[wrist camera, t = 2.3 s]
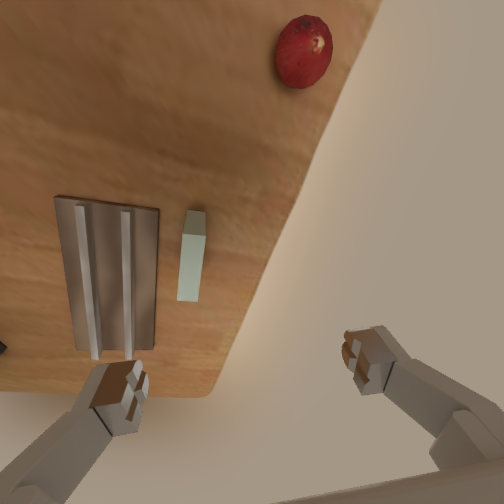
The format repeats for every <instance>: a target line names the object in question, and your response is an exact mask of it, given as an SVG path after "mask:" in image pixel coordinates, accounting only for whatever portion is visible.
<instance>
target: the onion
mask: <svg viewBox="0 0 504 504" xmlns="http://www.w3.org/2000/svg"><path fill="white" fill-rule="evenodd" d="M332 51H333V44H332V35H331V33H330V31H329V29H328V26H327V25H326V24H325V23H324V22H323V21H322V20H321V19H320V18H319V17H315V16H310V15H303V16H301V17H298V18H295V19H293V20H292V21H290V22H289V24H288V25H287V26H286V27H285V28H284V29H283V31H282V32H281V34H280V37H279V40H278V42H277V45H276V54H275V64H276V68H277V72H278V75H279V76H280V78H281V79H282V81H283V82H284V83H285V84H287V85H288V86H290V87H291V88H297V89H303V88H306V87H309V86H311V85H314V84H315V83H316V82H317V81H318V80H319V79H320V78H321V77H322V76H323V75H324V73H325V71H326V69H327V67H328V65H329V63H330V61H331V56H332Z"/></svg>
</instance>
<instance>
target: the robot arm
mask: <svg viewBox="0 0 504 504" xmlns="http://www.w3.org/2000/svg"><path fill="white" fill-rule="evenodd" d="M344 338H345V340H346V341H345V342H344V344H343V345H342V356H343V360H344V362H345V364H346V366H347V368H348V369H349V370H350V371H352V372H353V373H354V377H353V380H354V381H355V383H356V385H357V387H358V389H359V391H360V393H361V395H370V394H377V393H384V395H385V396H386V397H388V398H389V399H390V400H391V401H392V402H394V403H395V404H396V405H397V406H398V407H400V408H401V409H402V410H403V411H404V412H405V413H407V414H408V415H409V416H410V417H412V418H413V419H414V420H415V421H416V422H417V423H418V424H420V425H421V426H422V427H423V428H425V429H426V430H427V431H428V432H429V433H430V434H432V435H433V436H434V437H435V438H436V440H435V441H434V443H433V445H432V446H431V448H430V451H429V454H430V455H431V457H432V459H433V460H434V462H435V464H436V465H437V467H438V468H439V470H440V471H437V472H432V473H427V474H421V475H416V476H411V477H406V478H401V479H396V480H390V481H385V482H380V483H375V484H370V485H365V486H360V487H355V488H349V489H344V490H339V491H334V492H329V493H324V494H319V495H313V496H308V497H303V498H298V499H293V500H288V501H282V502H277V503H272V504H504V412H503V411H502V410H501V409H500V408H499V407H498V406H497V405H496V404H495V403H493V402H492V401H490V400H488V399H486V398H485V397H483V396H481V395H479V394H477V393H476V392H474V391H472V390H470V389H469V388H467V387H465V386H463V385H462V384H460V383H458V382H456V381H455V380H453V379H451V378H449V377H447V376H446V375H444V374H442V373H440V372H439V371H437V370H435V369H433V368H431V367H430V366H428V365H426V364H424V363H422V362H421V361H419V360H417V359H411V357H410V356H409V355H408V354H407V353H406V351H405V350H404V349H403V348H402V347H401V346H400V344H399V343H398V342H397V341H396V339H395V338H394V337H393V336H392V334H391V333H390V332H389V331H388V330H387V329H386V327H384V326H382V325H381V326H374V327H366V328H359V329H353V330H347V331H346V332H345V334H344ZM142 367H143V364H142V362H141V360H133V361H124V362H115V363H107V364H100V365H96V366H95V367H94V368H93V370H92V372H91V373H90V375H89V377H88V379H87V381H86V383H85V385H84V387H83V389H82V391H81V393H80V394H79V397H78V398H77V400H76V402H75V404H74V406H73V408H72V410H71V411H69V412H66V413H65V414H63V415H62V416H61V417H60V418H59V419H58V420H57V421H56V422H55V423H54V424H52V425H51V426H50V427H49V428H48V429H47V430H46V431H45V432H44V433H43V434H42V435H40V436H39V437H38V438H37V439H36V440H35V441H34V442H33V443H32V444H31V445H29V446H28V447H27V448H26V449H25V450H24V451H23V452H22V453H21V454H20V455H19V456H17V457H16V458H15V459H14V460H13V461H12V462H11V463H10V464H9V465H8V466H6V467H5V468H4V469H3V470H2V471H1V472H0V504H64V503H65V502H66V500H67V499H68V498H69V496H70V495H71V494H72V492H73V491H74V490H75V488H76V487H77V486H78V484H79V483H80V481H81V480H82V479H83V477H84V476H85V475H86V473H87V472H88V471H89V470H90V468H91V467H92V465H93V464H94V463H95V461H96V460H97V459H98V457H99V456H100V455H101V453H102V452H103V451H104V449H105V448H106V446H107V445H108V444H109V442H110V441H111V440H112V437H114V436H120V435H125V434H130V433H135V432H138V428H139V425H140V421H141V417H142V414H143V411H142V409H141V405H142V404H143V402H144V401H145V400H146V399H147V395H148V389H149V380H148V376H147V373H146V372H144V371H142Z"/></svg>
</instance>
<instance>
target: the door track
mask: <svg viewBox="0 0 504 504" xmlns="http://www.w3.org/2000/svg"><path fill="white" fill-rule="evenodd" d="M54 202H55V209H56V216H57V223H58V229H59V236H60V243H61V250H62V256H63V263H64V270H65V276H66V283H67V290H68V297H69V303H70V310H71V317H72V324H73V330H74V337H75V344H76V350H91V358H92V360H99V358H100V356H101V354H102V351H103V350H125V360H132V357H133V354H134V351H135V350H153V348H154V332H155V306H156V281H157V256H158V231H159V209H154V208H147V207H139V206H132V205H125V204H118V203H111V202H103V201H96V200H89V199H82V198H74V197H67V196H60V195H58V196H55V197H54Z"/></svg>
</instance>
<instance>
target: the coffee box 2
mask: <svg viewBox="0 0 504 504" xmlns="http://www.w3.org/2000/svg"><path fill="white" fill-rule="evenodd" d="M6 348H7V347H5V346H4V345H3V344H1V343H0V356H1V354H2V353H3V352H4V351H5V350H6Z"/></svg>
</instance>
